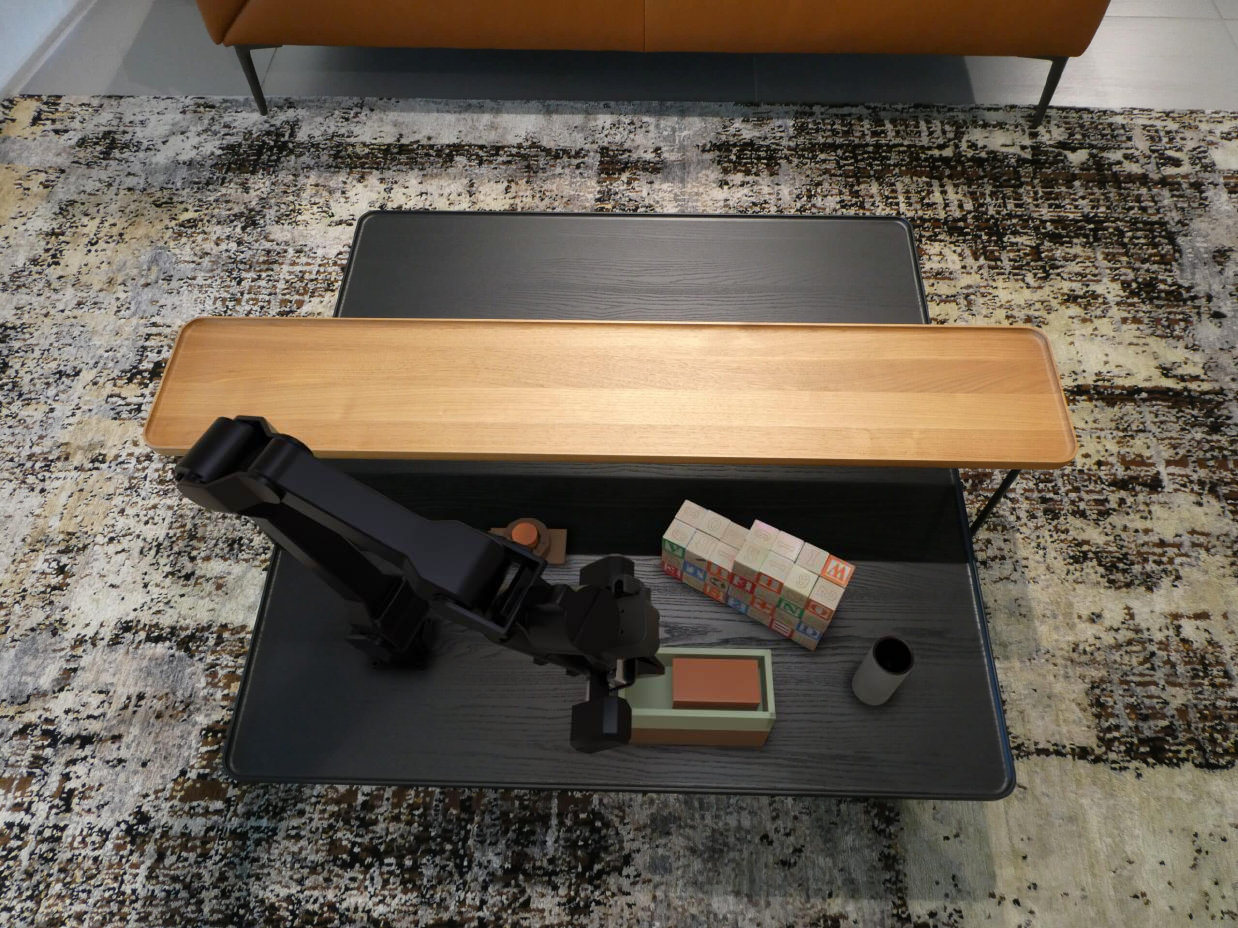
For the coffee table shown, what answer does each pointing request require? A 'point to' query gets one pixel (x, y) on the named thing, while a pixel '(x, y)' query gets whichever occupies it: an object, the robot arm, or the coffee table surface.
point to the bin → (699, 726)
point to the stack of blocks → (757, 571)
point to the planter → (883, 670)
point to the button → (525, 535)
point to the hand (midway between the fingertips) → (662, 671)
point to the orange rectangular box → (715, 684)
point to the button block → (541, 540)
